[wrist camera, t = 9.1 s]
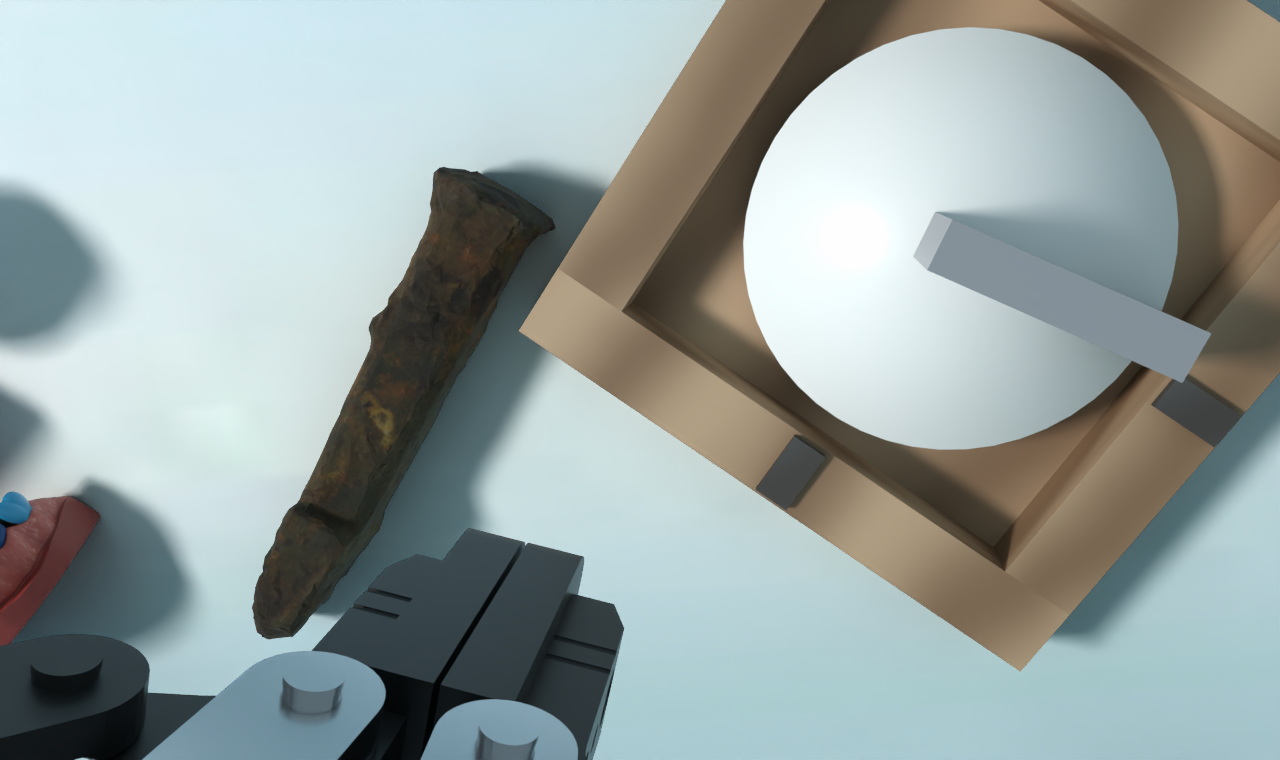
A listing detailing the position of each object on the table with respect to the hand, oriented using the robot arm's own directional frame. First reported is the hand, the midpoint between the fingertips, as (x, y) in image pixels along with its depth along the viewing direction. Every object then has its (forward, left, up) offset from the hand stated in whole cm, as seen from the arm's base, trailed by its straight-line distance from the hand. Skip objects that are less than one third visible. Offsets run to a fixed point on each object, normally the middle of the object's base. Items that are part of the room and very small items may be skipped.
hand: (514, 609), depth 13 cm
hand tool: (-7, -9, -25) cm, 27 cm away
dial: (+5, +7, -24) cm, 26 cm away
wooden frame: (+5, +7, -24) cm, 26 cm away
